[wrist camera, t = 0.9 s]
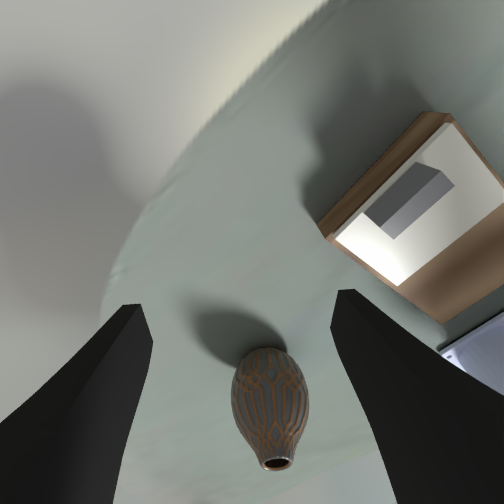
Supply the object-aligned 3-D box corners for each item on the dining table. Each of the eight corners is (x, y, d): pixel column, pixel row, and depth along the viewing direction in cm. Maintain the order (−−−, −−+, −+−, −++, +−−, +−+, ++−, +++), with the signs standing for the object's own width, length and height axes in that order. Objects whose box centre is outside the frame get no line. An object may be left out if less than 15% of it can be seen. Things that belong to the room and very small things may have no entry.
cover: (502, 194, 15) (545, 210, 13) (393, 281, 18) (414, 305, 16) (445, 122, 13) (485, 127, 11) (332, 235, 16) (346, 256, 14)
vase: (250, 328, 24) (256, 434, 16) (312, 348, 26) (343, 451, 18) (221, 370, 27) (214, 477, 19) (277, 385, 29) (292, 488, 21)
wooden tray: (525, 235, 20) (555, 249, 18) (425, 306, 23) (441, 325, 21) (423, 111, 15) (449, 113, 13) (316, 224, 19) (325, 238, 17)
